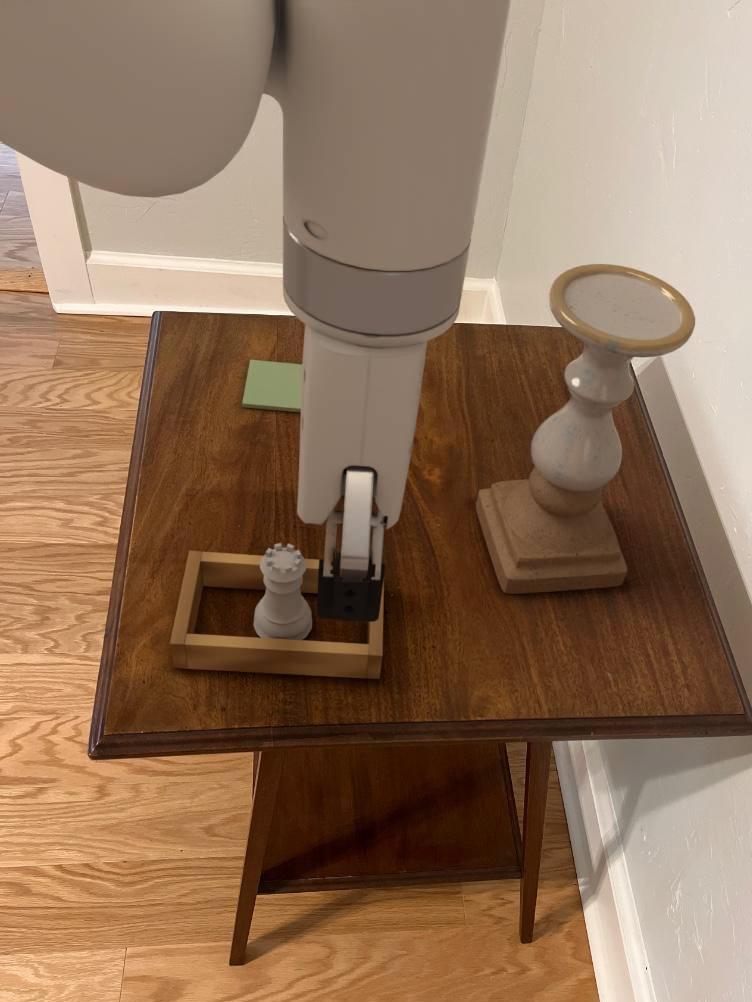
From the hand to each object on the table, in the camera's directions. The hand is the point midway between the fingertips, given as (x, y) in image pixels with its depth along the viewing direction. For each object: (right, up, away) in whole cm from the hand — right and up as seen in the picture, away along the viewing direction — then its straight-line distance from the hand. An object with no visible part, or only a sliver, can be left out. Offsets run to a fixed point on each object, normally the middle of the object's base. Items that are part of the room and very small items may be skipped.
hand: (351, 548), depth 50 cm
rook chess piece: (-7, -5, +20) cm, 22 cm away
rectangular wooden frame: (-7, -5, +20) cm, 21 cm away
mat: (-7, +18, +39) cm, 43 cm away
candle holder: (+14, +2, +30) cm, 33 cm away
